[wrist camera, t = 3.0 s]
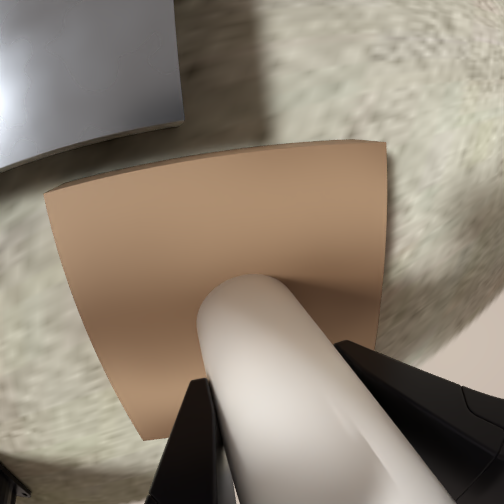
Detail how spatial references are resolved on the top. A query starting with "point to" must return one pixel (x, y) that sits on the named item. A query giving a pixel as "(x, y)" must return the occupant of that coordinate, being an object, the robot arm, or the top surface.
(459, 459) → the robot arm
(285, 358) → the white peg
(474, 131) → the top surface
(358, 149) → the brown square slab
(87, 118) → the plate
